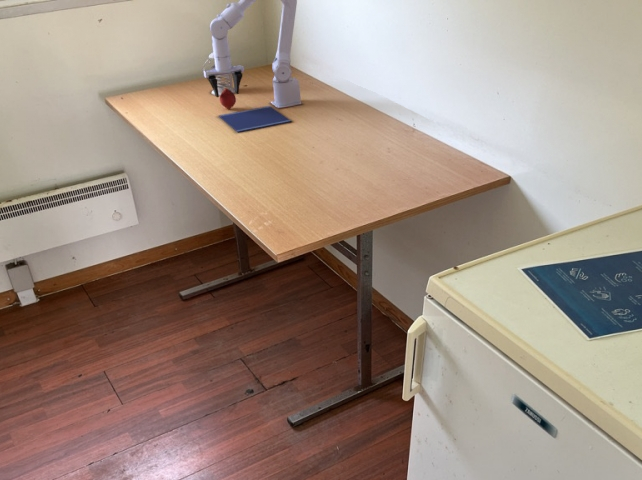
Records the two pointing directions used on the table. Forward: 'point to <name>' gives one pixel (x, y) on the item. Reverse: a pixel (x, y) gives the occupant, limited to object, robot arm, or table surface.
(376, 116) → the table surface
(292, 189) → the table surface
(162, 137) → the table surface
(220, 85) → the french press
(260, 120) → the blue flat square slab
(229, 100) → the onion
